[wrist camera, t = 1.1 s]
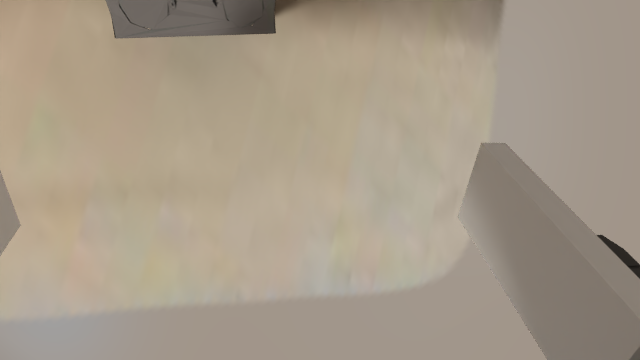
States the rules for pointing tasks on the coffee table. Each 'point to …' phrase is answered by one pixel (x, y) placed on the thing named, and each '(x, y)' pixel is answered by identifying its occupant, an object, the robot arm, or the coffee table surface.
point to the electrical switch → (191, 17)
